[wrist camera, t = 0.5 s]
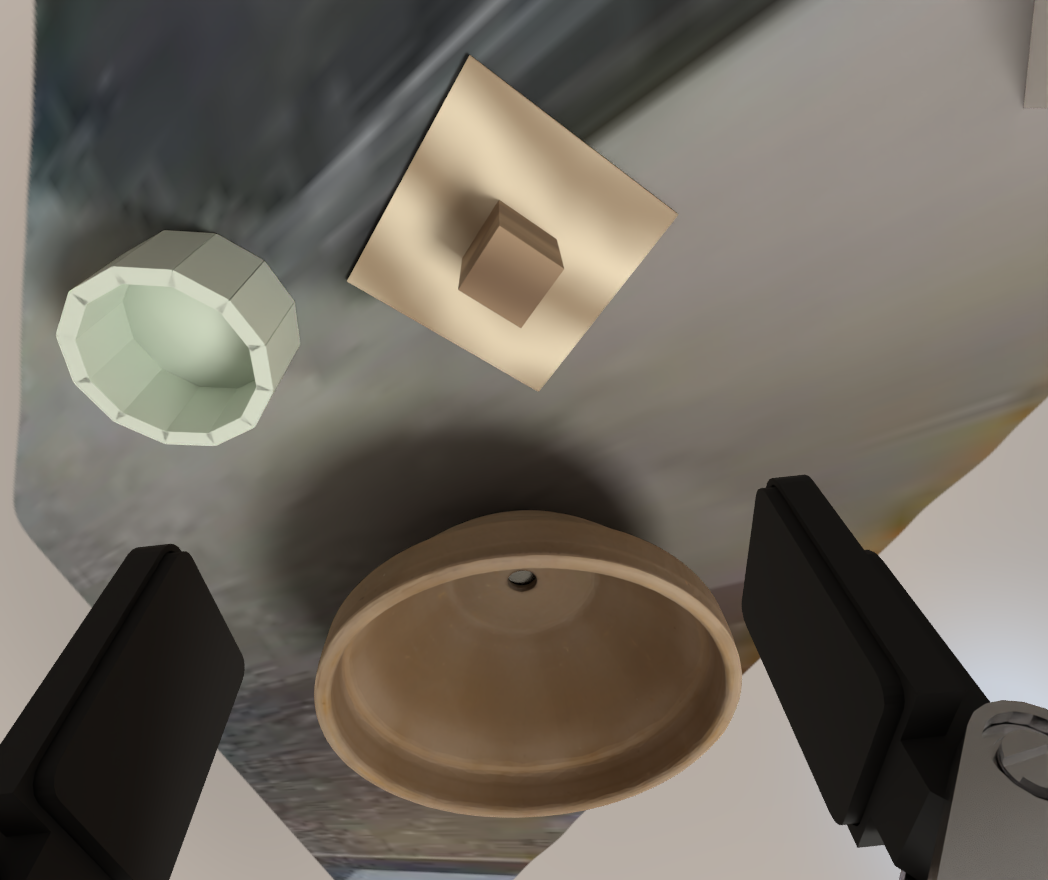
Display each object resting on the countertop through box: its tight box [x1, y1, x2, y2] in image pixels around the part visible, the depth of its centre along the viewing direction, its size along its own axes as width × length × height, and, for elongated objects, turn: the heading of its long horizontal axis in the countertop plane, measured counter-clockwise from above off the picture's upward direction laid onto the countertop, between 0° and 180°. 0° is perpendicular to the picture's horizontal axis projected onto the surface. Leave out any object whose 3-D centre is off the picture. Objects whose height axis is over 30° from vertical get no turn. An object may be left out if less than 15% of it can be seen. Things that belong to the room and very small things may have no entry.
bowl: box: [56, 230, 300, 446], centre depth 37 cm, size 11×11×6 cm
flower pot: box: [314, 510, 742, 818], centre depth 48 cm, size 28×28×13 cm
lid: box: [347, 55, 678, 392], centre depth 36 cm, size 14×14×6 cm
